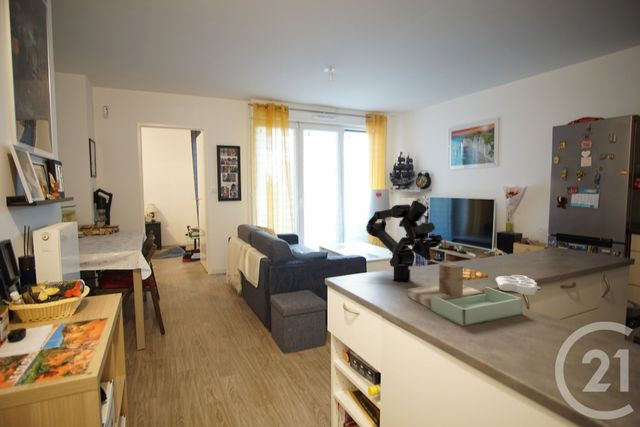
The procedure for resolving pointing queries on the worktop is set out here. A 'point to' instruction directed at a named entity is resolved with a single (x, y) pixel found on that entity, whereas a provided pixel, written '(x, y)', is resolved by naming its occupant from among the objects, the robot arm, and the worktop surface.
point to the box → (478, 307)
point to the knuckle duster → (517, 284)
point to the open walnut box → (451, 279)
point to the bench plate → (437, 294)
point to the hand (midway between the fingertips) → (429, 260)
